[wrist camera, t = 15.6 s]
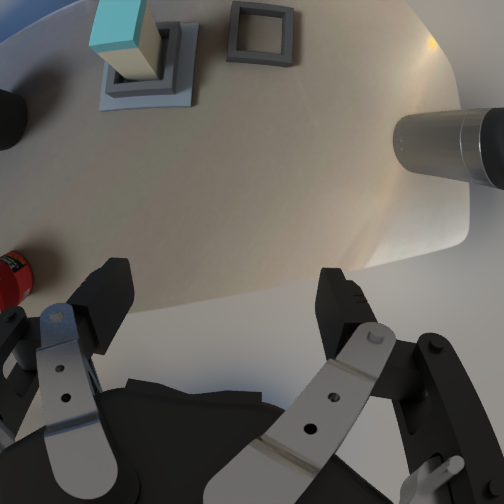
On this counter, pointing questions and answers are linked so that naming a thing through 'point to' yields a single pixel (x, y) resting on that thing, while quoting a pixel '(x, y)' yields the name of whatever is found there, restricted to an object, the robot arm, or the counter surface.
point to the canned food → (14, 280)
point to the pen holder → (11, 119)
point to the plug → (128, 39)
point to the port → (171, 80)
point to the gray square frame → (259, 57)
